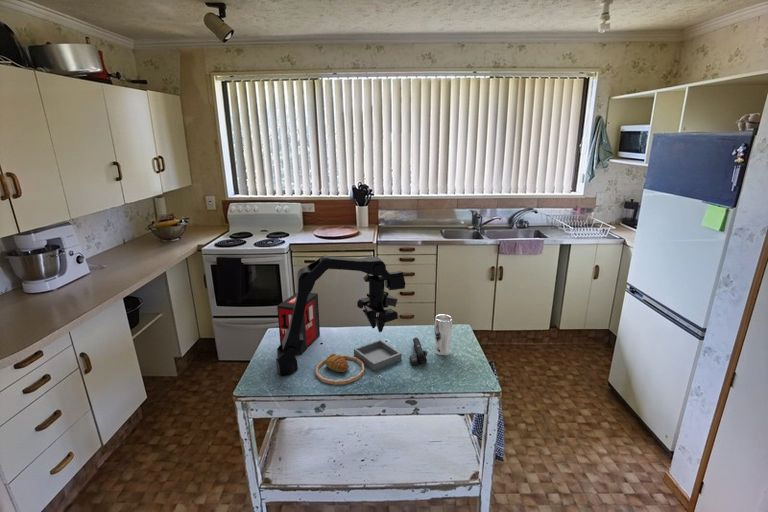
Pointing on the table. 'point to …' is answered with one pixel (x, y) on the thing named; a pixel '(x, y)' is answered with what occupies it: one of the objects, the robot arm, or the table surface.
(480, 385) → the table surface
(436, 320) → the drink can
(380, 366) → the bin
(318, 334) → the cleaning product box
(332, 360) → the pastry
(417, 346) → the can opener
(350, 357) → the socket ring
